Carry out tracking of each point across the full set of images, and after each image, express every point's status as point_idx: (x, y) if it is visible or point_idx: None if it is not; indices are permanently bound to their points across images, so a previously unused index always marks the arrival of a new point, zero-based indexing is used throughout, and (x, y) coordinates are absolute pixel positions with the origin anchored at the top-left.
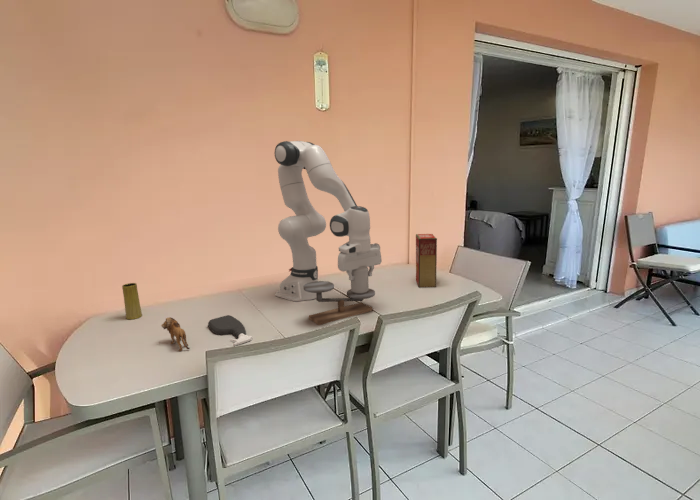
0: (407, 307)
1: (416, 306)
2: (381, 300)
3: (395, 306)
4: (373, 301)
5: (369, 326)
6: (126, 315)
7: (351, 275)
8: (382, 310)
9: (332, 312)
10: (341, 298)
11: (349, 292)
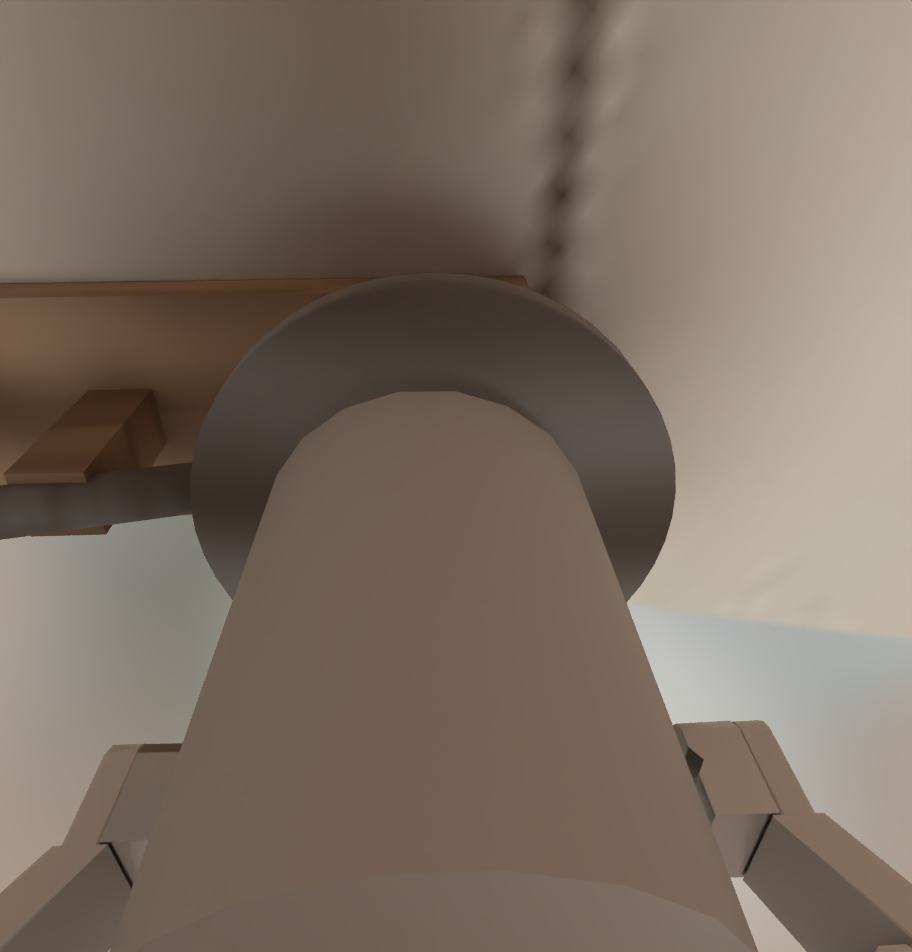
0: (825, 587)
1: (899, 608)
2: (850, 279)
3: (776, 517)
4: (748, 245)
5: None
6: None
7: (97, 939)
8: None
9: (4, 390)
10: (53, 528)
11: (255, 441)
